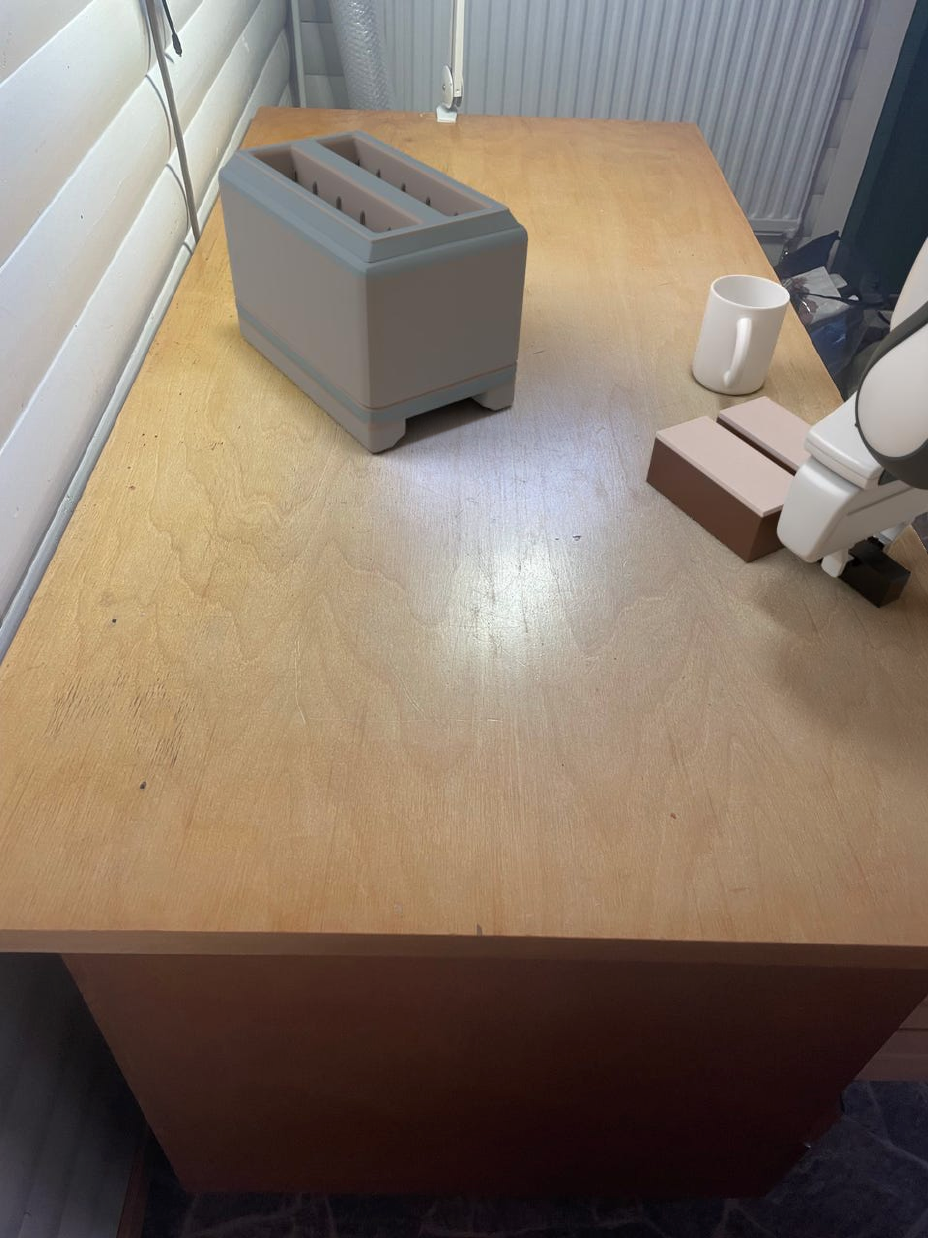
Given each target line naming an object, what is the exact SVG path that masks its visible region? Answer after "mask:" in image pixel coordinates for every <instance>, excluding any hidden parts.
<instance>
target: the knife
mask: <svg viewBox="0 0 928 1238" xmlns="http://www.w3.org/2000/svg"><path fill="white" fill-rule="evenodd" d="M848 554H849V555H851V556H852V557H853V558H854V560H853V562H852V564H851V566H850V569H849V571H847V572H845V573H843V574H841V575H839V576H837V577H836V578H837V579H839V580H841V582H843V583H844V584H846V585H847V586H848V587H850V588H851V589H852V590H853V591H854V592H856V593H857V594H859V595H860V596H861V597H862V598H864V599H865V600H867V602H869V603H871V604H872V605H873V606H874V607H876V608H877V609H880V608H883V607H885V606H887V605H889V604H891V603H892V602H895V601H897V600H899V599H900V597H901V596H902V594H903V591H904V589H905V588H906V585H907V583H908V581H909V579H910V577H911V576H912V574H913V572H912V571H910V570H909V569H908V568H907V567H905V566H904V565H902V564H901V563H900V562H898V561H897V560H895V559H894V558H893V557H891V556H889V554H885V553H884V552H883V551H881V550H880V549H878V548H877V547H876V546H874V545H873V544H871V543H870V542H869V541H867V538H866V539H864V540H862V541H860V542H857V543H855V545H854V547H853V548H851V549H848ZM823 559H824V557H823V558H821V559H819V560H817V561H816V562H817V563H818V564H819V565H821V564H822V561H823Z"/></svg>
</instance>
